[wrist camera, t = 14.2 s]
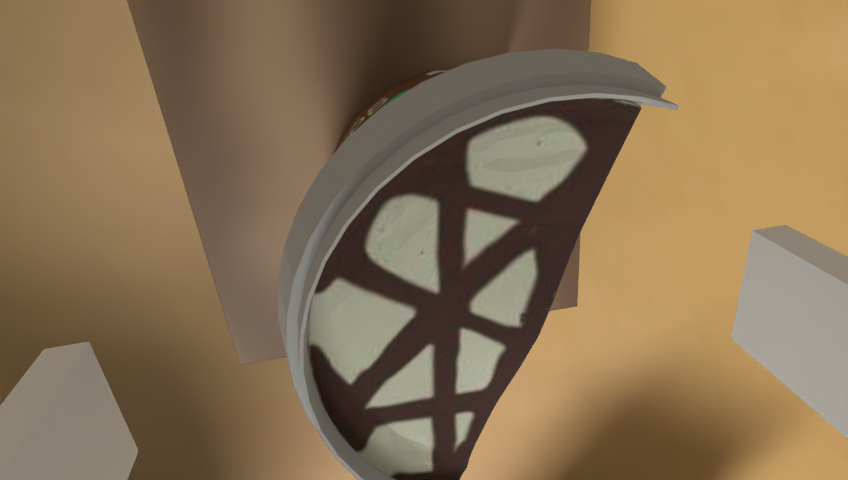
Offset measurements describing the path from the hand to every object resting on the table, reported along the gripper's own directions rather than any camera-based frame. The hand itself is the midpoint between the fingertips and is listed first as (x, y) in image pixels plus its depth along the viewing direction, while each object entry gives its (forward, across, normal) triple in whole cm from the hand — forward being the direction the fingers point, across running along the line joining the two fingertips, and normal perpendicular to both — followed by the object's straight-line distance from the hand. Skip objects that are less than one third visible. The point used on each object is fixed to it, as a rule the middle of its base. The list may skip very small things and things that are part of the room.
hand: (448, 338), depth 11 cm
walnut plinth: (+15, 0, 0) cm, 15 cm away
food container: (+11, 0, 0) cm, 11 cm away
